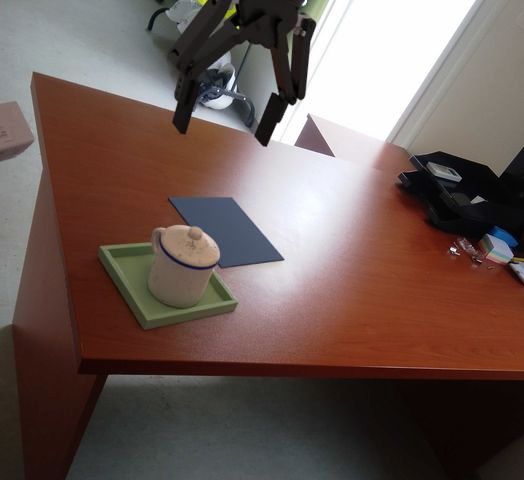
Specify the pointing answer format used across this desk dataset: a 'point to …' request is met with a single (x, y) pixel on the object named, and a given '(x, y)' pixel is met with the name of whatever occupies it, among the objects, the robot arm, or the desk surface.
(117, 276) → the tray
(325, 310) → the desk surface
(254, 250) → the mat
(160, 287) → the teacup with lid
